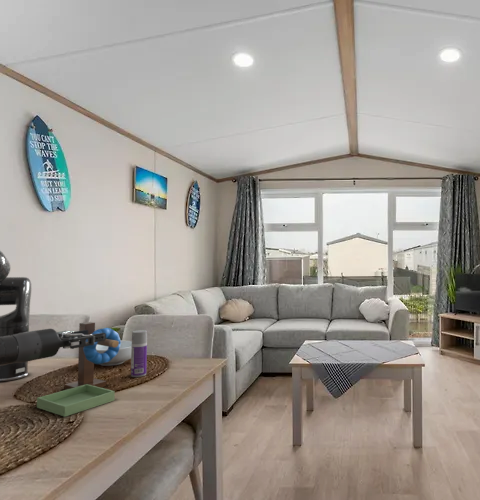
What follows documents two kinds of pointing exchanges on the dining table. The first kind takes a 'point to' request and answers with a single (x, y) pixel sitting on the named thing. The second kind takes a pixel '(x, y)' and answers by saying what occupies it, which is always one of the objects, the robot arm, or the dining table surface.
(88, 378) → the rack
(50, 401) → the tray
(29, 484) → the dining table surface
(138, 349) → the container
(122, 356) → the cereal bowl
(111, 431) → the dining table surface
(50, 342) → the robot arm
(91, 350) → the ring
